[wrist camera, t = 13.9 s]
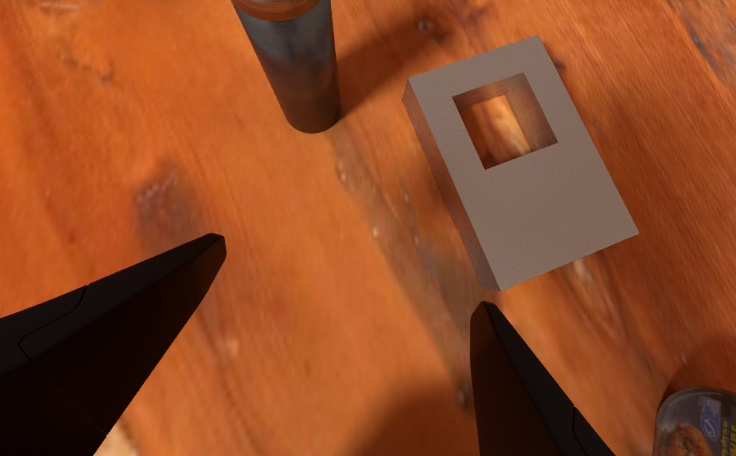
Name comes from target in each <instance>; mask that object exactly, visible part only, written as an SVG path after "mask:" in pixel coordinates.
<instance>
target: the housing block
mask: <svg viewBox="0 0 736 456" xmlns="http://www.w3.org/2000/svg"><path fill="white" fill-rule="evenodd" d="M504 94H505V96H506V99H507V101H508V103H509V105H510V107H511V109H512V111H513V113H514V115H515V117H516V119H517V122H518V124H519V126H520V128H521V130H522V132H523V134H524V136H525V138H526V140H527V142H528V144H529V147H530V149H531V151H532V153H529V154H526V155H524V156H521V157H518V158H516V159H513V160H510V161H508V162H505V163H502V164H500V165H497V166H494V167H492V168H489V169H486V170H485V169H484V167H483V165H482V163H481V160H480V158H479V156H478V154H477V152H476V149H475V147H474V145H473V143H472V141H471V138H470V136H469V134H468V132H467V130H466V127H465V125H464V123H463V121H462V119H461V116H460V114H459V112H458V110H461V109H464V108H467V107H470V106H473V105H476V104H479V103H481V102H484V101H487V100H490V99H493V98H496V97H499V96H501V95H504ZM402 101H403V104H404V106H405V108H406V111H407V113H408V115H409V118H410V120H411V122H412V125H413V127H414V129H415V132H416V134H417V136H418V139H419V141H420V143H421V146H422V148H423V150H424V153H425V155H426V157H427V160H428V162H429V164H430V167H431V169H432V171H433V174H434V176H435V178H436V181H437V183H438V185H439V188H440V190H441V192H442V195H443V197H444V199H445V202H446V204H447V206H448V209H449V211H450V213H451V216H452V218H453V220H454V223H455V225H456V227H457V230H458V232H459V234H460V237H461V239H462V241H463V244H464V246H465V248H466V251H467V253H468V255H469V258H470V260H471V262H472V264H473V267H474V269H475V271H476V274H477V276H478V278H479V281H480V283H481V285H482V288H483V289H490V290H496V291H503V290H505V289H507V288H510V287H512V286H515V285H517V284H519V283H522V282H524V281H527V280H529V279H532V278H534V277H536V276H539V275H541V274H544V273H546V272H548V271H551V270H553V269H556V268H558V267H560V266H563V265H565V264H568V263H570V262H572V261H575V260H577V259H580V258H582V257H584V256H587V255H589V254H592V253H594V252H596V251H599V250H601V249H604V248H606V247H608V246H611V245H613V244H616V243H618V242H620V241H623V240H625V239H628V238H630V237H632V236H635V235H637V234H640V233H639V231H638V229H637V227H636V225H635V223H634V221H633V219H632V217H631V215H630V213H629V211H628V209H627V208H626V206H625V204H624V202H623V200H622V198H621V196H620V194H619V192H618V190H617V188H616V186H615V184H614V182H613V180H612V178H611V176H610V174H609V172H608V170H607V168H606V166H605V164H604V162H603V160H602V159H601V157H600V155H599V153H598V151H597V149H596V147H595V145H594V143H593V141H592V139H591V137H590V135H589V133H588V131H587V129H586V127H585V125H584V123H583V121H582V119H581V117H580V115H579V113H578V111H577V109H576V108H575V106H574V104H573V102H572V100H571V98H570V96H569V94H568V92H567V90H566V88H565V86H564V84H563V82H562V80H561V78H560V76H559V74H558V72H557V70H556V68H555V66H554V64H553V62H552V60H551V58H550V57H549V55H548V53H547V51H546V49H545V47H544V45H543V43H542V41H541V39H540V37H539V35H535V36H532V37H529V38H526V39H523V40H520V41H517V42H514V43H511V44H508V45H505V46H502V47H499V48H496V49H493V50H490V51H487V52H484V53H481V54H478V55H475V56H472V57H469V58H466V59H463V60H460V61H457V62H454V63H451V64H448V65H445V66H442V67H439V68H436V69H433V70H430V71H427V72H424V73H421V74H418V75H415V76H412V77H409V78H408V79H407V83H406V87H405V91H404V94H403V98H402Z"/></svg>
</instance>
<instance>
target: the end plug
mask: <svg viewBox="0 0 736 456" xmlns="http://www.w3.org/2000/svg"><path fill="white" fill-rule="evenodd" d="M231 1H232V3H233V6H234V8H235V10H236V12H237V14H238V16H239V18H240V21H241V23H242V25H243V27H244V29H245V31H246V33H247V36H248V38H249V40H250V42H251V44H252V46H253V48H254V51H255V53H256V55H257V57H258V59H259V61H260V63H261V66H262V68H263V70H264V72H265V74H266V76H267V78H268V80H269V83H270V85H271V87H272V89H273V91H274V93H275V95H276V98H277V100H278V102H279V104H280V106H281V108H282V110H283V113H284V115H285V117H286V119H287V121H288V122H289V123H290V124H291V125H292V126H293V127H294V128H295V129H297V130H299V131H301V132H304V133H310V134H313V133H320V132H323V131H325V130H327V129H329V128H330V127H332V126H333V125H334V124H335V122H336V121H337V119H338V117H339V115H340V110H341V103H340V93H339V82H338V72H337V62H336V52H335V41H334V31H333V21H332V11H331V0H231Z"/></svg>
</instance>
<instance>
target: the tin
mask: <svg viewBox="0 0 736 456" xmlns="http://www.w3.org/2000/svg"><path fill="white" fill-rule="evenodd" d="M653 456H736V393H733V392H730V391H727V390H723V389H719V388H713V387H690V388H685V389H682V390H679V391H677V392H675V393H673V394H672V395H670V396H669V397H668V398H667V399H666V400H665V401H664V402H663V403H662V405H661V406H660V409H659V411H658V413H657V416H656V422H655V435H654V448H653Z"/></svg>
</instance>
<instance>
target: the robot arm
mask: <svg viewBox="0 0 736 456" xmlns="http://www.w3.org/2000/svg"><path fill="white" fill-rule="evenodd" d="M226 254H227V252H226V245H225V238H224V236H222V235H219V234H215V233H209V234H206V235H204V236H202V237H199V238H197V239H194V240H192V241H190V242H187V243H185V244H183V245H180V246H178V247H175V248H173V249H171V250H168V251H166V252H164V253H161V254H159V255H156V256H154V257H152V258H149V259H147V260H145V261H142V262H140V263H137V264H135V265H133V266H130V267H128V268H126V269H123V270H121V271H118V272H116V273H114V274H111V275H109V276H107V277H104V278H102V279H99V280H97V281H95V282H92V283H90V284H89V285H85V286H83V287H80V288H78V289H75V290H73V291H71V292H68V293H66V294H63V295H61V296H58V297H56V298H53V299H51V300H48V301H46V302H43V303H41V304H38V305H35V306H33V307H30V308H27V309H25V310H22V311H19V312H16V313H14V314H11V315H8V316H5V317H3V318H0V456H93V455H94V454H95V452H96V451H97V449H98V448H99V447H100V445H101V444H102V442H103V441H104V440H105V438H106V435H108V434H109V432H110V431H111V429H112V428H113V426H114V425H115V424H116V422H117V421H118V419H119V418H120V416H121V415H122V414H123V412H124V411H125V409H126V408H127V407H128V405H129V404H130V402H131V401H132V399H133V398H134V397H135V395H136V394H137V392H138V391H139V389H140V388H141V387H142V385H143V384H144V382H145V381H146V380H147V378H148V377H149V375H150V374H151V372H152V371H153V370H154V368H155V367H156V365H157V364H158V362H159V361H160V360H161V358H162V357H163V355H164V354H165V353H166V351H167V350H168V348H169V347H170V345H171V344H172V343H173V341H174V340H175V338H176V337H177V335H178V334H179V333H180V331H181V330H182V328H183V327H184V326H185V324H186V323H187V321H188V320H189V318H190V317H191V316H192V314H193V313H194V311H195V310H196V309H197V307H198V306H199V304H200V303H201V301H202V300H203V298H204V297H205V295H206V293H207V292H208V290H209V288H210V286H211V284H212V283H213V281H214V279H215V277H216V275H217V273H218V272H219V270H220V268H221V266H222V264H223V262H224V261H225V258H226ZM470 366H471V377H472V386H473V395H474V404H475V413H476V422H477V431H478V441H479V450H480V456H616V455H615V454H614V453H613V452H612V451H611V450H610V448H609V447H608V446H607V445H606V444H605V443H604V441H603V440H602V439H601V438H600V436H599V435H598V434H597V433H596V432H595V430H594V429H593V428H592V427H591V425H590V424H589V423H588V422H587V420H586V419H585V418H584V417H583V415H582V414H581V413H580V411H579V410H578V409H577V408H576V407H574V404H573V403H572V401H571V400H570V399H569V398H568V396H567V395H566V394H565V392H564V391H563V390H562V389H561V387H560V386H559V385H558V384H557V382H556V381H555V380H554V378H553V377H552V376H551V375H550V373H549V372H548V371H547V369H546V368H545V367H544V366H543V364H542V363H541V362H540V361H539V359H538V358H537V357H536V355H535V354H534V353H533V352H532V350H531V349H530V348H529V347H528V345H527V344H526V343H525V341H524V340H523V339H522V338H521V336H520V335H519V334H518V333H517V331H516V330H515V329H514V327H513V326H512V325H511V324H510V322H509V321H508V320H507V318H506V317H505V316H504V315H503V313H502V312H501V311H500V310H499V308H498V307H497V306H496V305H495V304H494V303H491V302H487V301H482V302H480V304H479V305H478V306H477V308H476V309H475V311H474V312H473V314H472V316H471V319H470Z"/></svg>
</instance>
